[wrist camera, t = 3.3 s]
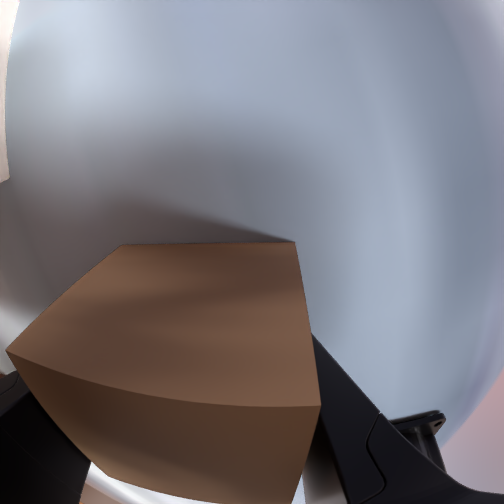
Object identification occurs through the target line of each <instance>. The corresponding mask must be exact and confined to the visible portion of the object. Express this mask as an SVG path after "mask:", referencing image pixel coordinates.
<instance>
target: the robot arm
mask: <svg viewBox="0 0 504 504" xmlns="http://www.w3.org/2000/svg"><path fill="white" fill-rule="evenodd" d="M311 336H312V342H313V349H314V356H315V363H316V370H317V377H318V385H319V392H320V400H321V408H320V412H319V416H318V420H317V424H316V427H315V431H314V435H313V438H312V442H311V445H310V449H309V452H308V456H307V459H306V462H305V465H304V468H303V472H302V478H303V486H304V494H305V502H306V504H504V494H499V493H490V492H483V491H477V490H474V489H471V488H468V487H466V486H464V485H462V484H460V483H458V482H457V481H455V480H454V479H453V478H452V477H450V476H449V475H448V474H447V472H446V469H445V465H444V462H443V459H442V456H441V453H440V450H439V447H438V444H437V441H436V439H435V436H434V435H435V434H436V433H437V432H438V430H439V429H440V428H441V427H442V425H443V424H444V423H445V421H446V418H445V416H444V414H443V413H439V414H436V415H433V416H429V417H425V418H422V419H418V420H414V421H409V422H405V423H400V424H396V425H392V424H391V423H390V422H389V421H388V419H387V418H386V417H385V416H384V415H383V414H382V413H380V411H379V409H378V408H377V407H376V406H375V405H374V404H373V403H372V402H371V400H370V399H369V398H368V397H367V396H366V395H365V394H364V393H363V391H362V390H361V389H360V388H359V387H358V386H357V385H356V383H355V382H354V381H353V380H352V379H351V378H350V377H349V375H348V374H347V373H346V372H345V371H344V370H343V369H342V367H341V366H340V365H339V364H338V363H337V362H336V361H335V359H334V358H333V357H332V356H331V355H330V354H329V353H328V351H327V350H326V349H325V348H324V347H323V346H322V345H321V343H320V342H319V341H318V340H317V339H316V338H315V337H314V335H313V334H312V333H311ZM379 413H380V414H379ZM90 464H91V460H90V459H89V458H88V457H87V456H86V455H85V454H84V453H83V452H82V451H81V450H80V449H79V448H78V447H77V446H76V445H75V444H74V443H73V442H72V441H71V440H70V439H69V438H68V437H67V436H66V435H65V433H64V432H63V431H62V430H61V429H60V428H59V427H58V425H57V424H56V423H55V422H54V421H53V419H52V418H51V417H50V416H49V415H48V413H47V412H46V411H45V409H44V408H43V407H42V406H41V404H40V403H39V402H38V400H37V399H36V398H35V396H34V395H33V393H32V392H31V391H30V389H29V388H28V386H27V385H26V383H25V382H24V380H23V379H22V377H21V376H20V374H19V373H18V371H17V370H16V371H14V372H12V373H10V374H8V375H6V376H4V377H2V378H0V504H79V502H80V498H81V495H80V494H82V490H83V487H84V484H85V480H86V477H87V474H88V471H89V468H90Z"/></svg>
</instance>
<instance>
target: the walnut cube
mask: <svg viewBox="0 0 504 504" xmlns="http://www.w3.org/2000/svg"><path fill="white" fill-rule="evenodd" d="M5 351H6V353H7V354H8V356H9V358H10V359H11V361H12V363H13V364H14V366H15V368H16V369H17V371H18V373H19V374H20V376H21V377H22V379H23V380H24V382H25V383H26V385H27V386H28V388H29V389H30V391H31V392H32V393H33V395H34V396H35V398H36V399H37V400H38V402H39V403H40V404H41V406H42V407H43V408H44V409H45V411H46V412H47V413H48V415H49V416H50V417H51V418H52V419H53V421H54V422H55V423H56V424H57V425H58V427H59V428H60V429H61V430H62V431H63V432H64V433H65V435H66V436H67V437H68V438H69V439H70V440H71V441H72V442H73V443H74V444H75V445H76V446H77V447H78V448H79V449H80V450H81V451H82V452H83V453H84V454H85V455H86V456H87V457H88V458H89V459H90V460H91V461H92V462H93V463H94V464H95V465H96V466H97V467H98V468H99V469H100V470H102V471H103V472H104V473H105V474H106V475H107V476H109V477H111V478H114V479H117V480H120V481H123V482H125V483H128V484H132V485H135V486H138V487H141V488H145V489H148V490H152V491H156V492H160V493H164V494H168V495H172V496H177V497H182V498H187V499H192V500H198V501H204V502H211V503H219V504H291V503H292V500H293V498H294V495H295V492H296V489H297V486H298V484H299V481H300V478H301V475H302V472H303V468H304V465H305V462H306V459H307V456H308V452H309V449H310V445H311V442H312V438H313V435H314V431H315V427H316V424H317V420H318V416H319V412H320V408H321V400H320V392H319V385H318V377H317V370H316V363H315V356H314V349H313V342H312V336H311V329H310V323H309V317H308V311H307V305H306V299H305V293H304V288H303V282H302V277H301V271H300V266H299V261H298V255H297V250H296V245H295V242H259V243H186V244H135V245H121V246H120V247H118V248H117V249H116V250H114V251H113V252H112V253H111V254H109V255H108V256H107V257H106V258H104V259H103V260H102V261H101V262H99V263H98V264H97V265H96V266H95V267H93V268H92V269H91V270H90V271H89V272H87V273H86V274H85V275H84V276H83V277H81V278H80V279H79V280H78V281H77V282H76V283H74V284H73V285H72V286H71V287H70V288H69V289H68V290H66V291H65V292H64V293H63V294H62V295H61V296H60V297H59V298H58V299H56V300H55V301H54V302H53V303H52V304H51V305H50V306H49V307H48V308H47V309H46V310H45V311H43V312H42V313H41V314H40V315H39V316H38V317H37V318H36V319H35V320H34V321H33V322H32V323H31V324H30V325H29V326H28V327H27V328H26V329H25V330H24V331H23V332H22V333H21V334H20V335H19V336H18V337H17V338H16V339H15V340H14V341H13V342H12V343H11V344H10V345H9V346H8V347H7V349H6V350H5Z"/></svg>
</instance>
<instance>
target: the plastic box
mask: <svg viewBox="0 0 504 504" xmlns="http://www.w3.org/2000/svg"><path fill="white" fill-rule="evenodd" d="M19 2H20V0H0V183H1V182H3V181H5V180H7V179H9V178H10V175H9V167H8V158H7V147H6V132H5V89H6V74H7V64H8V56H9V49H10V42H11V37H12V31H13V26H14V22H15V17H16V13H17V9H18V5H19Z"/></svg>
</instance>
